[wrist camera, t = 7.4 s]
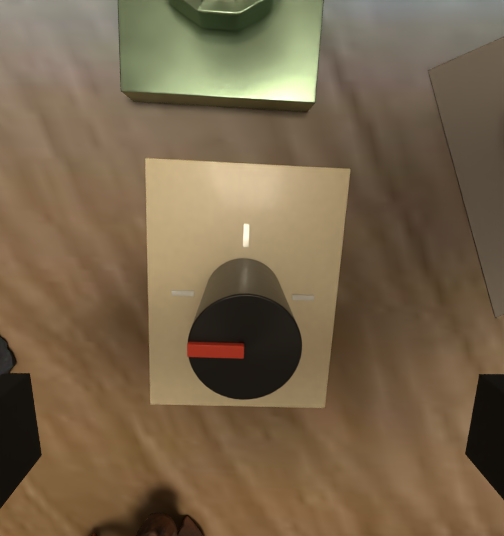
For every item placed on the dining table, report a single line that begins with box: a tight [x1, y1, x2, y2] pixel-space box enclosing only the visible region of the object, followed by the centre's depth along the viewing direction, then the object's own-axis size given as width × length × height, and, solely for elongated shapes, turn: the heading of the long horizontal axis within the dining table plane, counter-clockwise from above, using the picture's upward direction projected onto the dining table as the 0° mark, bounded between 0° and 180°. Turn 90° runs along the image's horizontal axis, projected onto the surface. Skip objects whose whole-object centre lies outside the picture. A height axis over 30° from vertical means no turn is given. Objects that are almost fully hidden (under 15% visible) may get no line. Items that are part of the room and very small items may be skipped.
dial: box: [187, 258, 302, 400], centre depth 18 cm, size 5×5×8 cm
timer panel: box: [145, 158, 350, 408], centre depth 22 cm, size 16×12×3 cm
